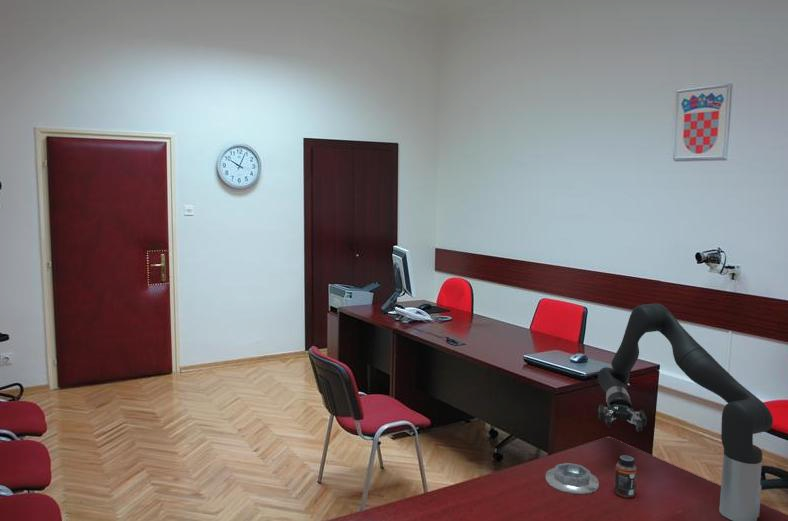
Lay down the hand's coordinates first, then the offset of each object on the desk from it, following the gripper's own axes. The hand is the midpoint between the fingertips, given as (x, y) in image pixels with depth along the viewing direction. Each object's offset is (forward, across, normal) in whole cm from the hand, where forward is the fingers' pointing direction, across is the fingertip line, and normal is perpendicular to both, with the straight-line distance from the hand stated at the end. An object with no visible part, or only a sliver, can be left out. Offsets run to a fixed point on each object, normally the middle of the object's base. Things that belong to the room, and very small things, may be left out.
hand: (624, 427), depth 182 cm
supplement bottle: (+12, +1, +16) cm, 20 cm away
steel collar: (+8, -14, +17) cm, 24 cm away
